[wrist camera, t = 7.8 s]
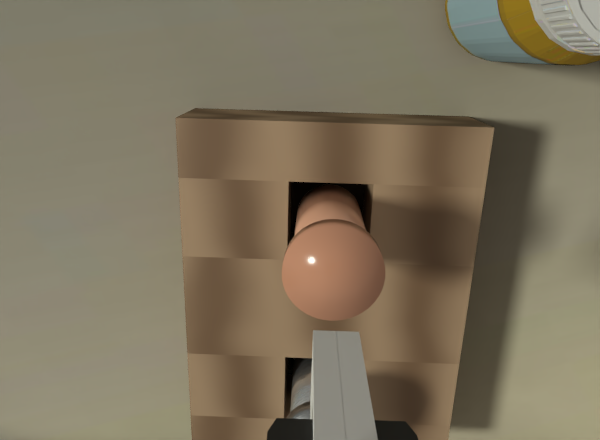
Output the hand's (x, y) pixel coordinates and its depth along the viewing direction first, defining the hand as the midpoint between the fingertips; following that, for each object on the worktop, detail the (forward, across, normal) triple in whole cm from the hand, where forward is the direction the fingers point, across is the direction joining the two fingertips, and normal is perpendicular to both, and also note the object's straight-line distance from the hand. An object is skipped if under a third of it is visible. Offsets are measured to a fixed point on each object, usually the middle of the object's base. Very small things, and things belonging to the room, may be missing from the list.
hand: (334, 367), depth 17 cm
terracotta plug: (+16, 0, 0) cm, 16 cm away
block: (+20, 0, -6) cm, 20 cm away
